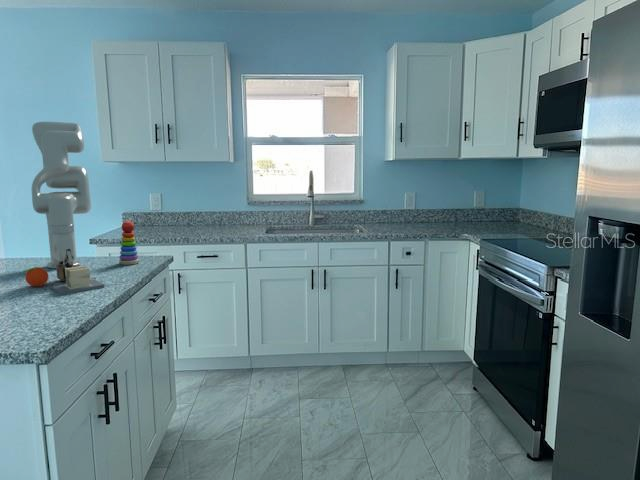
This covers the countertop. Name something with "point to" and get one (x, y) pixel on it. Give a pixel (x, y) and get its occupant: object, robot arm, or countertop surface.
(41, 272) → the clementine
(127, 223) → the stacking toy
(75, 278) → the maple cube
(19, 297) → the countertop surface
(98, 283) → the board
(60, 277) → the walnut cube
